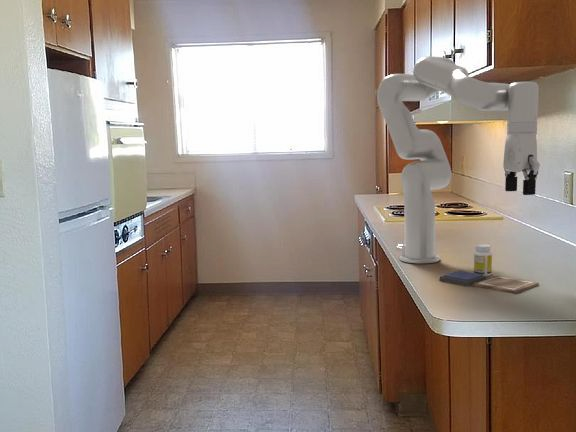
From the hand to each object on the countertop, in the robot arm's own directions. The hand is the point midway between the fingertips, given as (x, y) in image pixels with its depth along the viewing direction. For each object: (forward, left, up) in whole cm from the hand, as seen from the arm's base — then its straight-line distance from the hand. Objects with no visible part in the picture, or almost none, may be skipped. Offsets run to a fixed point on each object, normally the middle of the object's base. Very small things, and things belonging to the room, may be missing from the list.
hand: (519, 192), depth 165 cm
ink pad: (-10, -12, -24) cm, 28 cm away
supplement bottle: (-10, -2, -24) cm, 26 cm away
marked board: (+1, -9, -24) cm, 25 cm away
